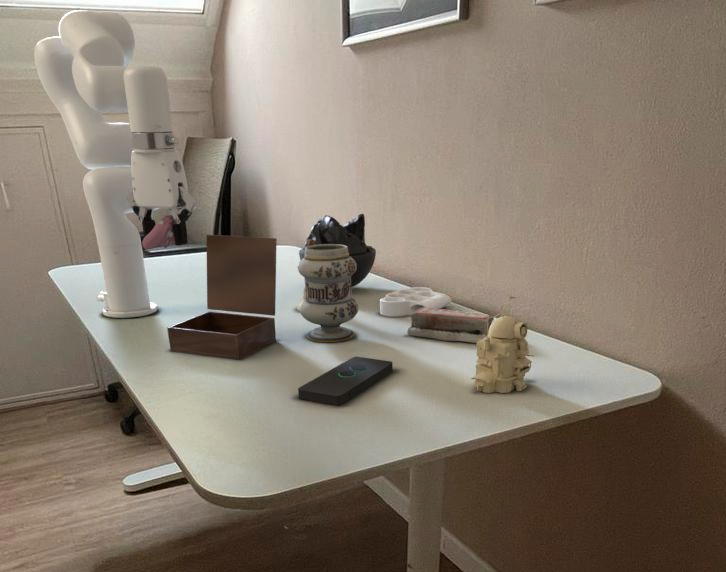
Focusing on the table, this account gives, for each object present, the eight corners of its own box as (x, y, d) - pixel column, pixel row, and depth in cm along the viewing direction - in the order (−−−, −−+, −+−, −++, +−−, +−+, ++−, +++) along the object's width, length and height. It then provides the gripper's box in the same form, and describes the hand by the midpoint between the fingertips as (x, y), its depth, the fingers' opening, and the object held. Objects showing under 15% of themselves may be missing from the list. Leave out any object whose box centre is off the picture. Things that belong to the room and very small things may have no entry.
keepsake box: (239, 359, 135) (236, 335, 133) (170, 350, 141) (167, 327, 139) (276, 340, 147) (274, 317, 144) (210, 333, 152) (208, 311, 150)
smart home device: (395, 361, 127) (339, 395, 112) (394, 370, 128) (340, 406, 112) (354, 355, 131) (295, 388, 115) (354, 364, 132) (295, 398, 116)
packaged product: (405, 313, 146) (423, 302, 154) (405, 336, 148) (423, 325, 156) (491, 321, 139) (505, 310, 147) (489, 346, 141) (503, 333, 149)
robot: (507, 400, 114) (515, 306, 107) (465, 389, 118) (470, 299, 112) (540, 383, 121) (549, 294, 114) (498, 374, 125) (505, 287, 119)
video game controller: (160, 259, 138) (171, 225, 134) (139, 247, 137) (149, 213, 134) (181, 250, 146) (192, 218, 143) (161, 238, 146) (172, 206, 142)
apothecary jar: (325, 325, 156) (322, 240, 148) (370, 333, 150) (369, 244, 142) (289, 338, 148) (283, 248, 140) (335, 347, 141) (332, 253, 133)
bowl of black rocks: (292, 296, 182) (288, 219, 174) (310, 280, 200) (307, 209, 191) (369, 298, 179) (368, 219, 171) (381, 282, 197) (381, 209, 188)
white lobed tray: (420, 321, 159) (365, 313, 166) (457, 305, 172) (405, 298, 179) (420, 306, 157) (365, 298, 164) (458, 291, 170) (405, 284, 178)
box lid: (274, 238, 139) (276, 238, 140) (206, 234, 145) (208, 234, 146) (273, 315, 144) (275, 315, 145) (207, 309, 150) (209, 309, 150)
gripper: (204, 142, 133) (214, 243, 141) (129, 141, 139) (143, 237, 147) (179, 144, 126) (191, 249, 135) (102, 143, 133) (118, 243, 141)
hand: (166, 242), depth 141 cm, fingers closed on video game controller, 6 cm apart
